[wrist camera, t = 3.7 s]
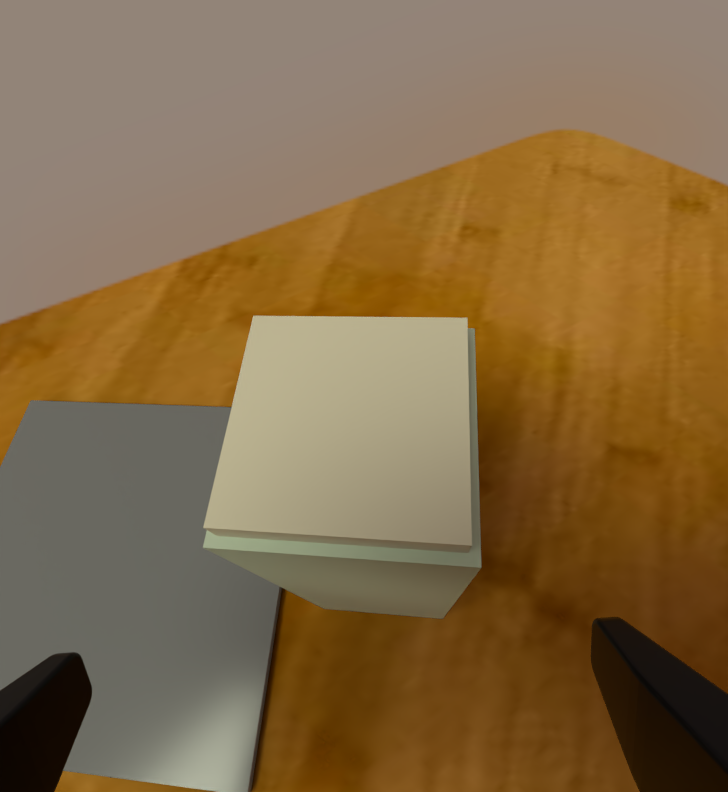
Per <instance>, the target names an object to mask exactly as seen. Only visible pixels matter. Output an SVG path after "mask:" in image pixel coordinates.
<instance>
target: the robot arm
mask: <svg viewBox="0 0 728 792" xmlns="http://www.w3.org/2000/svg"><path fill="white" fill-rule="evenodd" d="M591 663H592V668H593V671H594V674H595V677H596V680H597V682H598V685H599V688H600V691H601V693H602V696H603V699H604V701H605V704H606V707H607V709H608V712H609V715H610V718H611V720H612V723H613V726H614V728H615V731H616V734H617V736H618V739H619V742H620V744H621V747H622V750H623V753H624V755H625V758H626V760H627V763H628V766H629V768H630V771H631V773H632V776H633V778H634V780H635V782H636V784H637V787H638V789H639V791H640V792H728V694H727V693H726V692H724V691H723V690H722V689H720V688H719V687H717V686H716V685H715V684H713V683H712V682H710V681H709V680H707V679H706V678H705V677H703V676H702V675H700V674H699V673H698V672H696V671H695V670H693V669H692V668H691V667H689V666H688V665H686V664H685V663H684V662H682V661H681V660H679V659H678V658H676V657H675V656H674V655H672V654H671V653H669V652H668V651H667V650H665V649H664V648H662V647H661V646H660V645H658V644H657V643H655V642H654V641H652V640H651V639H650V638H648V637H647V636H645V635H644V634H643V633H641V632H640V631H638V630H637V629H636V628H634V627H633V626H631V625H630V624H629V623H627V622H626V621H624V620H623V619H621V618H618V617H607V618H596V619H595V620H594V621H593V623H592V637H591ZM91 698H92V685H91V682H90V679H89V676H88V673H87V671H86V668H85V665H84V662H83V659H82V657H81V655H80V654H78V653H76V652H67V653H57V654H53V655H51V656H50V657H48V658H47V659H45V660H44V661H42V662H41V663H39V664H38V665H36V666H35V667H34V668H32V669H31V670H29V671H28V672H26V673H25V674H23V675H22V676H20V677H19V678H18V679H16V680H15V681H13V682H12V683H10V684H9V685H7V686H6V687H4V688H3V689H2V690H0V792H54V791H55V789H56V787H57V784H58V782H59V779H60V777H61V774H62V772H63V769H64V767H65V764H66V762H67V759H68V757H69V754H70V752H71V749H72V747H73V744H74V742H75V739H76V737H77V735H78V732H79V730H80V727H81V725H82V722H83V720H84V717H85V715H86V712H87V710H88V707H89V705H90V702H91Z"/></svg>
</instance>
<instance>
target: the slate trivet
mask: <svg viewBox="0 0 728 792" xmlns="http://www.w3.org/2000/svg"><path fill="white" fill-rule="evenodd" d="M231 408H232V407H208V406H178V405H149V404H120V403H90V402H61V401H32V400H31V401H30V403H29V406H28V408H27V410H26V412H25V414H24V417H23V419H22V421H21V423H20V425H19V427H18V430H17V432H16V434H15V436H14V438H13V441H12V443H11V445H10V447H9V449H8V451H7V454H6V456H5V458H4V460H3V462H2V465H1V467H0V690H2V689H3V688H4V687H6V686H7V685H9V684H10V683H12V682H13V681H15V680H16V679H18V678H19V677H20V676H22V675H23V674H25V673H26V672H28V671H29V670H31V669H32V668H34V667H35V666H36V665H38V664H39V663H41V662H42V661H44V660H45V659H47V658H48V657H50V656H51V655H53V654H57V653H67V652H76V653H78V654H80V655H81V657H82V659H83V662H84V665H85V668H86V671H87V673H88V676H89V679H90V682H91V685H92V698H91V702H90V705H89V707H88V710H87V712H86V715H85V717H84V720H83V722H82V725H81V727H80V730H79V732H78V735H77V737H76V739H75V742H74V744H73V747H72V749H71V752H70V754H69V757H68V759H67V762H66V764H65V767H64V769H63V771H70V772H77V773H85V774H92V775H99V776H107V777H114V778H121V779H129V780H136V781H143V782H151V783H158V784H165V785H173V786H180V787H187V788H195V789H202V790H209V791H217V792H251V788H252V782H253V775H254V769H255V762H256V756H257V749H258V742H259V736H260V729H261V723H262V716H263V710H264V703H265V697H266V690H267V684H268V677H269V670H270V664H271V657H272V651H273V644H274V638H275V631H276V625H277V618H278V612H279V605H280V598H281V592H282V587H280V586H278V585H276V584H274V583H272V582H270V581H268V580H266V579H264V578H262V577H260V576H258V575H256V574H254V573H252V572H250V571H248V570H246V569H244V568H242V567H240V566H238V565H236V564H234V563H232V562H230V561H228V560H226V559H224V558H222V557H220V556H218V555H216V554H214V553H212V552H210V551H208V550H206V549H204V548H203V544H204V540H205V536H206V531H207V530H206V529H204V528H203V526H204V522H205V518H206V513H207V509H208V505H209V501H210V497H211V492H212V488H213V484H214V480H215V475H216V471H217V467H218V463H219V459H220V454H221V450H222V446H223V442H224V438H225V433H226V429H227V425H228V421H229V416H230V412H231Z"/></svg>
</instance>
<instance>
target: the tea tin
mask: <svg viewBox="0 0 728 792" xmlns="http://www.w3.org/2000/svg"><path fill="white" fill-rule="evenodd" d="M203 528H204V529H206V530H207V531H206V536H205V540H204V544H203V548H204V549H206V550H208V551H210V552H212V553H214V554H216V555H218V556H220V557H222V558H224V559H226V560H228V561H230V562H232V563H234V564H236V565H238V566H240V567H242V568H244V569H246V570H248V571H250V572H252V573H254V574H256V575H258V576H260V577H262V578H264V579H266V580H268V581H270V582H272V583H274V584H276V585H278V586H280V587H282V588H284V589H286V590H288V591H290V592H292V593H294V594H296V595H298V596H300V597H302V598H304V599H306V600H308V601H309V602H311V603H313V604H315V605H317V606H319V607H321V608H323V609H332V610H344V611H356V612H367V613H379V614H391V615H402V616H414V617H426V618H438V619H443V618H444V617H445V615H446V614H447V613H448V611H449V610H450V609H451V607H452V606H453V605H454V603H455V602H456V601H457V599H458V598H459V597H460V595H461V594H462V593H463V591H464V590H465V589H466V587H467V586H468V585H469V583H470V582H471V581H472V580H473V578H474V577H475V576H476V574H477V573H478V572H479V570H480V569H481V534H480V499H479V464H478V429H477V394H476V358H475V329H471V328H468V325H467V318H424V317H322V316H253V320H252V324H251V328H250V332H249V336H248V341H247V345H246V349H245V353H244V357H243V362H242V366H241V370H240V374H239V379H238V383H237V387H236V391H235V395H234V400H233V404H232V408H231V412H230V416H229V421H228V425H227V429H226V433H225V438H224V442H223V446H222V450H221V454H220V459H219V463H218V467H217V471H216V475H215V480H214V484H213V488H212V492H211V497H210V501H209V505H208V509H207V513H206V518H205V522H204V526H203Z"/></svg>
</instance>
